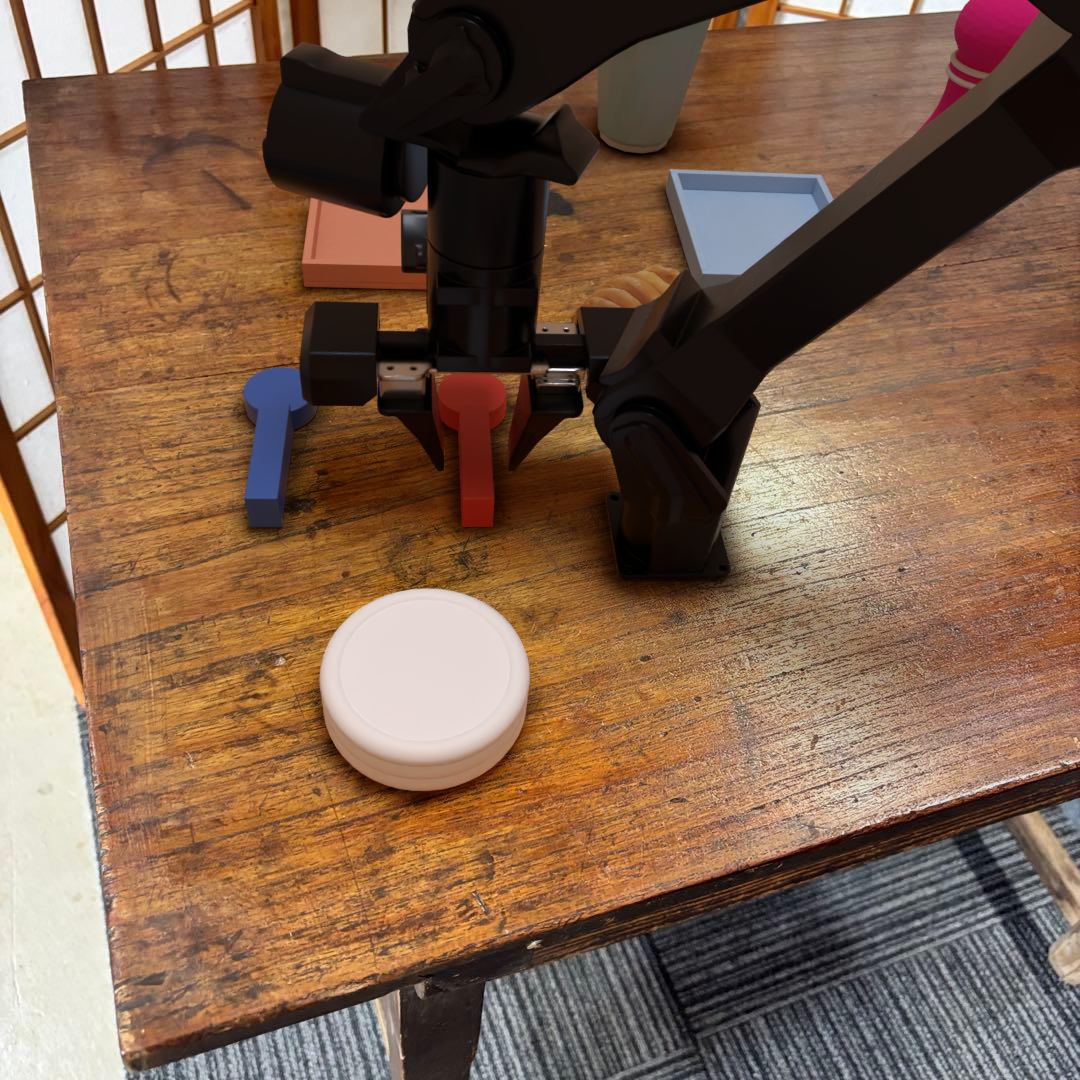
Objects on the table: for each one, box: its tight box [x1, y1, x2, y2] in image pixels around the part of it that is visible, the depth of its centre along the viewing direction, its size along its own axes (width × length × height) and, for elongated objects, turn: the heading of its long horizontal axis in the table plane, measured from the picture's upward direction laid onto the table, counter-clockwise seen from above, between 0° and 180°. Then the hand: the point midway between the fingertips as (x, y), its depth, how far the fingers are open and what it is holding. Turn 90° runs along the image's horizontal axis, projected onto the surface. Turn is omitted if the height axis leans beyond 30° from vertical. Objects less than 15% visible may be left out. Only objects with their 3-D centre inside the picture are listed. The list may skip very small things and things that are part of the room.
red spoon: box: [437, 374, 508, 528], centre depth 62 cm, size 12×4×2 cm, turn 4°
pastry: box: [570, 263, 681, 323], centre depth 71 cm, size 9×7×4 cm
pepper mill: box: [912, 0, 1040, 136], centre depth 79 cm, size 7×7×20 cm
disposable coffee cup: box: [597, 19, 712, 154], centre depth 87 cm, size 11×11×15 cm
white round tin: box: [318, 587, 531, 792], centre depth 50 cm, size 10×10×4 cm
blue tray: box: [665, 168, 835, 289], centre depth 81 cm, size 15×13×2 cm
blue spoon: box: [242, 366, 318, 528], centre depth 61 cm, size 12×4×2 cm, turn 4°
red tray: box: [301, 187, 427, 291], centre depth 78 cm, size 15×13×2 cm
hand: (475, 466), depth 61 cm, fingers open, 4 cm apart
